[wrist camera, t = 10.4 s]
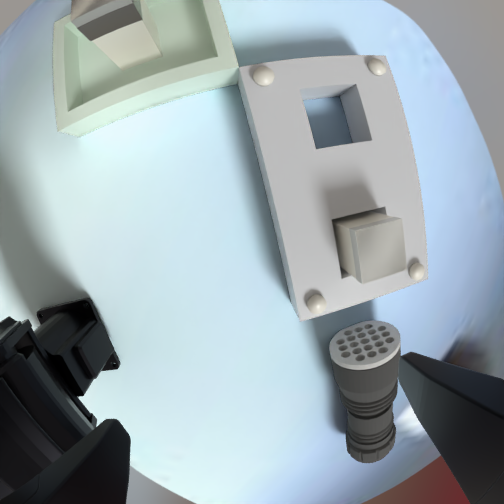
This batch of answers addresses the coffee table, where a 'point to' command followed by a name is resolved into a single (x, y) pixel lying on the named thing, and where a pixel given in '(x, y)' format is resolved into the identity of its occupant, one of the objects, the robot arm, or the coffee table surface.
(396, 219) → the block
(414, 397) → the robot arm
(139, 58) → the block
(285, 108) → the fuse block
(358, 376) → the flashlight
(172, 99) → the parts tray
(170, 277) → the coffee table surface
